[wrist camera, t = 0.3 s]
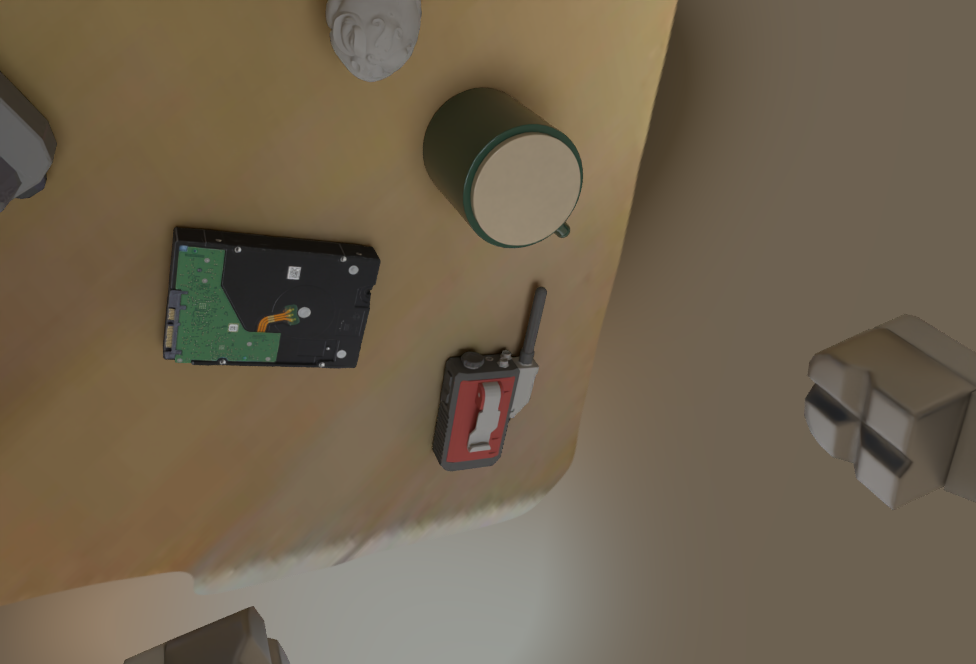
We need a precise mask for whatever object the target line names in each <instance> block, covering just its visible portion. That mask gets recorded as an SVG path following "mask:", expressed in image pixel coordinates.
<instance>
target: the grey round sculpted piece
mask: <svg viewBox="0 0 976 664" xmlns="http://www.w3.org/2000/svg"><path fill="white" fill-rule="evenodd" d="M421 14H422V12H421V0H328V2H327V5H326V21H327V24H328V26H329V27H330V28H331V29H332V30H331V32H330V38H331V40H330V41H331V44H332V47H333V49H334V51H335V53H336V54H337V56H338V57H339V58H340V60H341V61H342V63H343V64H344V65H345V66H346V67H347V69H348V70H349V71H350V72H351V73H352V74H353V75H354V76H356V77H357V78H359V79H362V80H364V81H368V82H374V81H378V80H382V79H384V78H386V77H388V76H390V75H391V74H393V72H395V71H397V70H398V69H400V68H401V67H402V66H403V65H404V64H405V62H406V61H407V60H408V59H409V57H410V56H411V55H412V52H413V49H414V46H415V44H416V42H417V39H418V33H419V30H420V22H421V21H420V19H421Z"/></svg>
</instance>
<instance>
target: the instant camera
mask: <svg viewBox="0 0 976 664" xmlns="http://www.w3.org/2000/svg"><path fill="white" fill-rule="evenodd" d="M56 145H57V143H56V140H55V138H54V135H53V133H52V130H51V128H50V125H49V123H48V121H47V120H46V119H45V118H44V116H43V115H42V114H41V113H40V112H39V111H38V110H37V109H36V108H35V107H34V106H33V105H32V104H31V103H30V102H29V101H28V100H27V99H26V98H25V97H24V96H23V95H22V93H21V92H20V91H19V90H18V89H17V88H16V87H15V86H14V85H13V84H12V83H11V82H10V81H9V80H8V79H7V78H6V77H5V76H4V75H3V74H2V73H1V72H0V212H2V211H3V210H4V208H5V207H6V206H7V204H8V203H9V202H10V201H11V200H13V199H14V198H20V199H23V198H30V197H31V196H33V195H35V194H36V193H38V192H39V191H41V190H43V189H44V186H45V184H46V180H47V176H46V172H47V171H48V169H49V167H50V166H51V164H52V162H53V158H54V154H55V150H56Z"/></svg>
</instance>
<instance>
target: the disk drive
mask: <svg viewBox="0 0 976 664" xmlns="http://www.w3.org/2000/svg"><path fill="white" fill-rule="evenodd" d="M379 266H380V259H379V257H378V255H377V253H376V252H375V250H374V248H373V247H364V246H362V245H354V244H343V243H333V242H323V241H313V240H303V239H293V238H281V237H269V236H262V235H254V234H242V233H234V232H223V231H214V230H202V229H190V228H178V227H176V228H174V232H173V244H172V255H171V265H170V275H169V288H168V297H167V307H166V319H165V330H164V340H163V358H164V359H168V360H169V359H171V360H175V362H177V363H191V364H192V365H237V366H272V367H273V366H281V367H319V368H320V367H322V368H355V367H356V365H357V361H358V357H359V352H360V348H361V343H362V339H363V335H364V330H365V326H366V323H367V318H368V314H369V310H370V296H371V293H370V290H372V287H373V285H375V284H376V279H377V275H378V270H379Z"/></svg>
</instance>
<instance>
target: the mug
mask: <svg viewBox="0 0 976 664" xmlns="http://www.w3.org/2000/svg"><path fill="white" fill-rule="evenodd" d="M423 159H424V165H425V168H426V171H427V173H428V175H429V177H430V179H431V180H432V182H433V183H434V184H435V186H436V187H437V188H438V189H439V190H440V192H441V193H442V194H443V195H444V196H445V197H446V199H447V200H448V201H449V202H450V203H451V204H452V206H453V207H454V208H455V209H456V210H457V212H458V213H459V214H460V215H461V216H462V217H463V219H464V220H465V221H466V222H467V223H468V224H469V226H470V227H471V228H472V229H473V230H474V231H475V233H476V234H477V235H478V236H479V237H481V238H482V239H483V240H485V241H486V242H488V243H490V244H493V245H495V246H498V247H503V248H521V247H526V246H530V245H533V244H535V243H538V242H540V241H542V240H544V239H545V238H547V237H549V236H550V235H551V234H553V233H555V234H556V235H557V236H558V237H560V238H565V237H567V236H568V235H569V233H570V227H569V225H568V224H567V223H566V222H565V221H566V220H567V219H568V217H569V216H570V214H571V213H572V211H573V209H574V208H575V206H576V203H577V201H578V199H579V196H580V192H581V188H582V182H583V168H582V162H581V158H580V155H579V153H578V151H577V149H576V147H575V145H574V144H573V142H572V141H571V140H570V139H569V138H568V137H567V136H566V135H565V134H563V133H562V132H561V131H559V130H558V129H557V128H555V127H554V126H552V125H551V124H549V123H548V122H547V121H545V120H544V119H542V118H541V117H540V116H538V115H537V114H535V113H534V112H532V111H531V110H530V109H528V108H527V107H525V106H524V105H523V104H521V103H520V102H518V101H517V100H516V99H514V98H513V97H511V96H510V95H508V94H507V93H505V92H503V91H500V90H497V89H492V88H474V89H470V90H466V91H464V92H461V93H459V94H457V95H456V96H454V97H452V98H451V99H450V100H448V101H447V102H446V103H445V104H444V105H442V106H441V107H440V109H439V110H438V111H437V112H436V113H435V115H434V117H433V118H432V120H431V122H430V124H429V126H428V128H427V131H426V134H425V138H424V143H423Z"/></svg>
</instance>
